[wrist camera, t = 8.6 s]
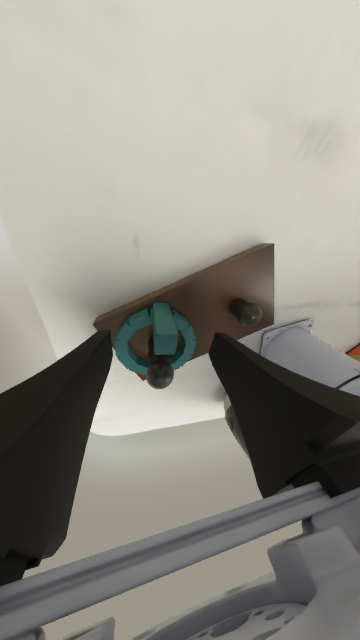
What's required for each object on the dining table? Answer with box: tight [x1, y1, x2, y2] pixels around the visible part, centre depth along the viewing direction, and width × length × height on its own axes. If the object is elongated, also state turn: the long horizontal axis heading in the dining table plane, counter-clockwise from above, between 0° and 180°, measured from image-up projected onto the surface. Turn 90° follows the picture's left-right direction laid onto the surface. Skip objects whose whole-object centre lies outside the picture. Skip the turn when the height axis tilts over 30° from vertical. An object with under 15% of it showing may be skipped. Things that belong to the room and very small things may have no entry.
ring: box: [115, 302, 196, 375], centre depth 13 cm, size 9×8×6 cm
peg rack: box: [93, 243, 274, 389], centre depth 14 cm, size 19×10×7 cm, turn 111°
